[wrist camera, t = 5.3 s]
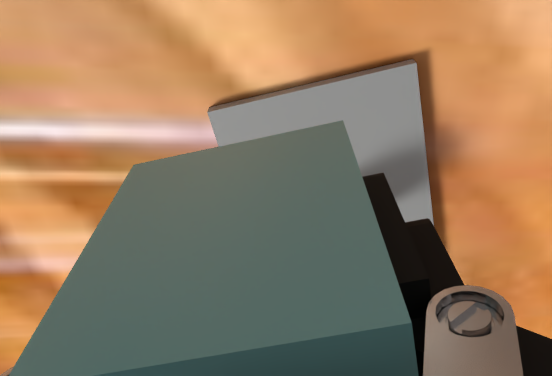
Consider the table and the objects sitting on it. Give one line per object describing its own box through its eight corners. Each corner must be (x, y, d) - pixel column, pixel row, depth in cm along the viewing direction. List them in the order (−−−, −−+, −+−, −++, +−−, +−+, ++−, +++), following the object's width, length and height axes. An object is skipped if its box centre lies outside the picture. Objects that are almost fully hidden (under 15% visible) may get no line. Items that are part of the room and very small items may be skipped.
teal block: (133, 164, 12) (-1, 391, 6) (343, 120, 11) (411, 322, 6) (197, 319, 14) (143, 586, 9) (372, 289, 14) (441, 552, 8)
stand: (209, 107, 29) (194, 148, 24) (413, 58, 27) (443, 91, 22) (274, 305, 36) (273, 368, 31) (436, 275, 35) (463, 337, 30)
